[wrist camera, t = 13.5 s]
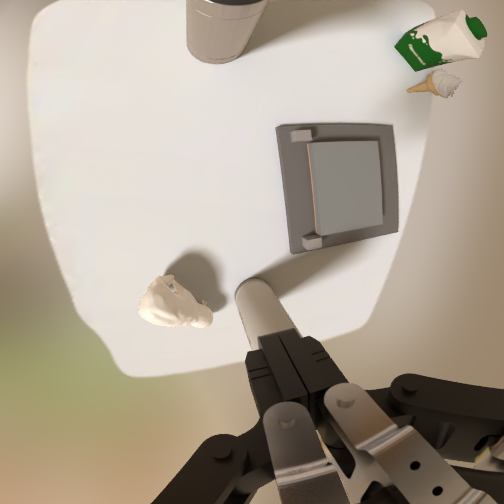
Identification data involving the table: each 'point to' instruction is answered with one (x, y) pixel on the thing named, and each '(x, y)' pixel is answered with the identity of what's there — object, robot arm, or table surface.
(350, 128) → the base
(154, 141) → the table surface
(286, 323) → the travel mug
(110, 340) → the table surface
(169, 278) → the beige irregular lump
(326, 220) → the tile
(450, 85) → the ice cream cone
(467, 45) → the milk carton
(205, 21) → the robot arm
